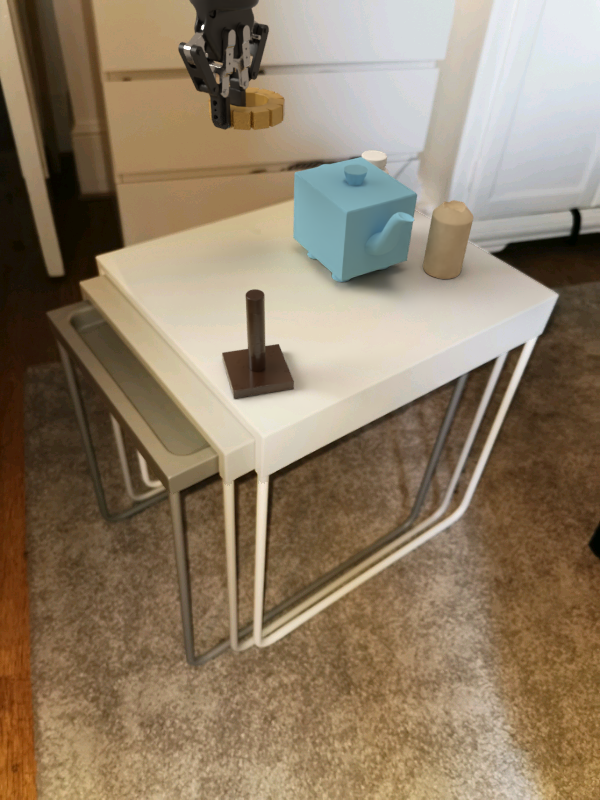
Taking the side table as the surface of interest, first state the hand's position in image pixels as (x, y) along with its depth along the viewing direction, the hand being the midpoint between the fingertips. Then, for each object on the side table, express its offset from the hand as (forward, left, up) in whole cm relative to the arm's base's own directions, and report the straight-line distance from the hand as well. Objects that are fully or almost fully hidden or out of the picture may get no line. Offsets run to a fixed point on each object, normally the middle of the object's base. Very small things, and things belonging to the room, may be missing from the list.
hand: (229, 123), depth 77 cm
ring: (+3, +2, 0) cm, 4 cm away
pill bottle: (+25, +13, -20) cm, 35 cm away
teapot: (+17, -3, -20) cm, 27 cm away
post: (-2, -23, -20) cm, 31 cm away
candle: (+29, -7, -20) cm, 36 cm away
